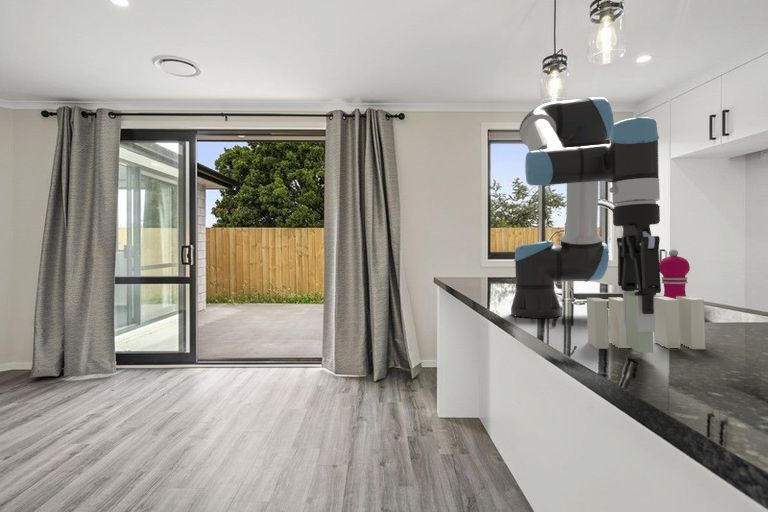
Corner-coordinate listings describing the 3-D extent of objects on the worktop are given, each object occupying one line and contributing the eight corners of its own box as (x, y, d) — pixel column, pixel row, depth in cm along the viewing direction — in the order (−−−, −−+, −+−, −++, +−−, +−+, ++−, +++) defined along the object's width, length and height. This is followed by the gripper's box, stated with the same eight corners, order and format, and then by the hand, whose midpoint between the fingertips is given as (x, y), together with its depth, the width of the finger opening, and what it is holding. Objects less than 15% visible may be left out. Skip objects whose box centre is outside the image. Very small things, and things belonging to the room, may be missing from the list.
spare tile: (626, 344, 84) (625, 293, 83) (639, 344, 83) (638, 293, 83) (638, 352, 78) (637, 297, 77) (653, 352, 77) (651, 297, 77)
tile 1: (588, 342, 96) (586, 297, 96) (599, 342, 95) (598, 297, 95) (596, 348, 90) (594, 301, 90) (608, 348, 89) (606, 300, 89)
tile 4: (654, 342, 93) (653, 296, 93) (666, 342, 93) (665, 296, 93) (667, 349, 87) (665, 300, 87) (680, 349, 87) (678, 299, 87)
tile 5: (677, 342, 92) (676, 296, 92) (689, 342, 92) (688, 296, 92) (692, 349, 86) (690, 299, 86) (705, 349, 86) (703, 299, 86)
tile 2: (609, 342, 95) (608, 297, 95) (621, 342, 94) (620, 297, 94) (619, 348, 89) (617, 300, 89) (632, 348, 88) (630, 300, 88)
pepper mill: (701, 338, 95) (698, 248, 95) (665, 338, 97) (662, 250, 97) (685, 332, 102) (683, 248, 102) (652, 332, 104) (649, 249, 104)
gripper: (598, 209, 90) (601, 319, 90) (633, 200, 71) (636, 339, 72) (637, 207, 88) (640, 318, 89) (683, 197, 70) (686, 339, 70)
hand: (638, 327), depth 80 cm, fingers closed on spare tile, 6 cm apart
